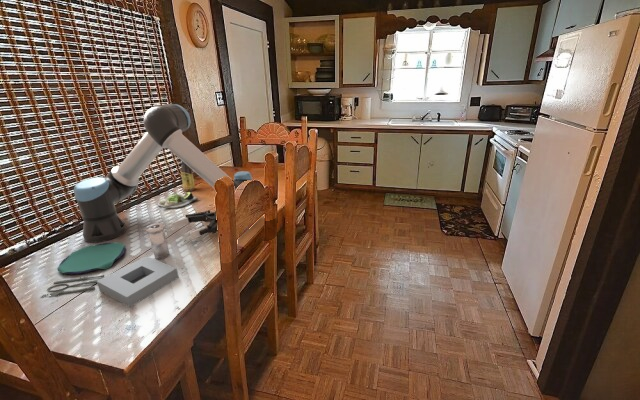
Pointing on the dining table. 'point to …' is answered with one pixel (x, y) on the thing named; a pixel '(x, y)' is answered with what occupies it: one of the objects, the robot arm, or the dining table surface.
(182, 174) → the sauce bottle
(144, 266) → the jig
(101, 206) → the robot arm
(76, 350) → the dining table surface
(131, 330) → the dining table surface
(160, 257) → the bushing
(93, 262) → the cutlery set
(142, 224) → the dining table surface
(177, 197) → the salad plate
